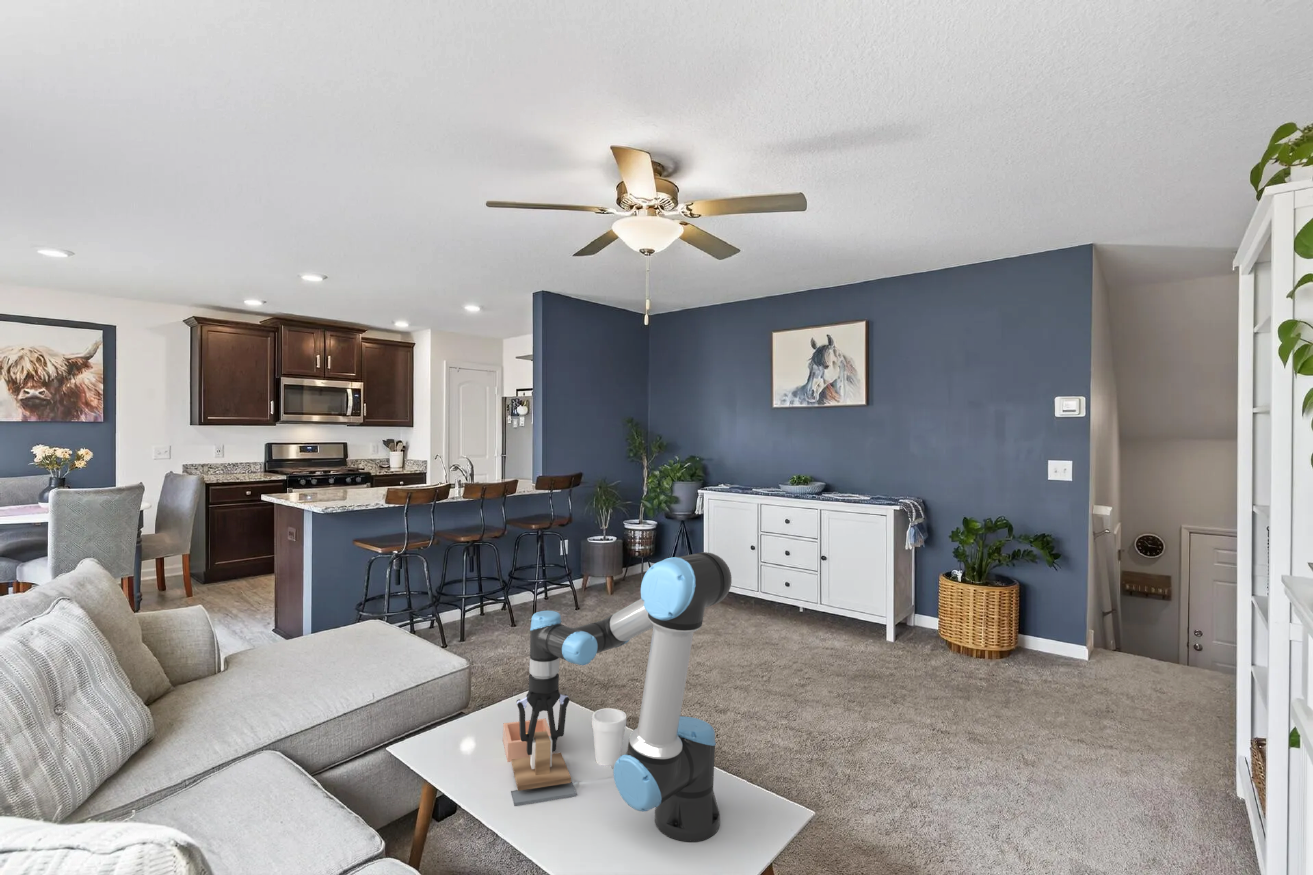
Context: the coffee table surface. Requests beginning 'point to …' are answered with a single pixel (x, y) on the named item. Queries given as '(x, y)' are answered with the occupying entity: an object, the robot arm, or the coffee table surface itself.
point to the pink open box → (512, 738)
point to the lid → (540, 766)
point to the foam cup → (608, 735)
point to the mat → (543, 794)
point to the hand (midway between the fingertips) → (540, 764)
